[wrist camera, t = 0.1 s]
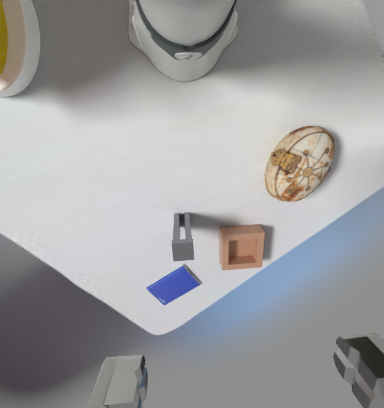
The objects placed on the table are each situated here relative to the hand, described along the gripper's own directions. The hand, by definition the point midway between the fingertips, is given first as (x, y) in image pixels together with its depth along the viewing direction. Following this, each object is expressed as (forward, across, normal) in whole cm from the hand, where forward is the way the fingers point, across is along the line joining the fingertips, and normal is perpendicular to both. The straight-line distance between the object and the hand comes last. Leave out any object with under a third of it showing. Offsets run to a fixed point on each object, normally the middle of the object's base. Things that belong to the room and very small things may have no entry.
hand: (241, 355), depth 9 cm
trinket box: (+39, -22, -3) cm, 45 cm away
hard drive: (+43, +7, +29) cm, 52 cm away
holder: (+41, -11, +17) cm, 45 cm away
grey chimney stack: (+40, +3, +9) cm, 41 cm away
